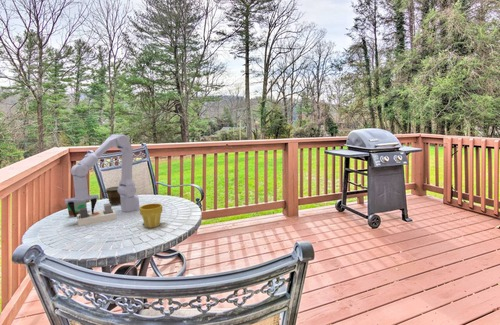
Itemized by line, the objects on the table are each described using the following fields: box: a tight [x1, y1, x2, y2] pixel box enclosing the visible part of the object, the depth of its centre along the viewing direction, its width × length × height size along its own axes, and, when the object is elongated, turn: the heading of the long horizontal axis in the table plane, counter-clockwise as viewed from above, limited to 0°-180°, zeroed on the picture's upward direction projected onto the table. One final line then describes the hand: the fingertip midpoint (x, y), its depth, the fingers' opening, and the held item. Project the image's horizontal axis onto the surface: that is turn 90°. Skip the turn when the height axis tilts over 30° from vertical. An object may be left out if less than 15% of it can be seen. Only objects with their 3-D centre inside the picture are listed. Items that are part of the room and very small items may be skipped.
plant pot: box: [139, 202, 163, 228], centre depth 141 cm, size 10×10×10 cm
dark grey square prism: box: [80, 207, 88, 218], centre depth 145 cm, size 3×4×7 cm
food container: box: [65, 201, 88, 218], centre depth 158 cm, size 12×6×10 cm, turn 168°
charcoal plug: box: [103, 202, 113, 214], centre depth 151 cm, size 3×4×7 cm
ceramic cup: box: [101, 186, 121, 206], centre depth 178 cm, size 13×10×10 cm
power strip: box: [76, 208, 117, 227], centre depth 148 cm, size 17×10×5 cm, turn 122°
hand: (84, 215), depth 145 cm, fingers open, 7 cm apart
